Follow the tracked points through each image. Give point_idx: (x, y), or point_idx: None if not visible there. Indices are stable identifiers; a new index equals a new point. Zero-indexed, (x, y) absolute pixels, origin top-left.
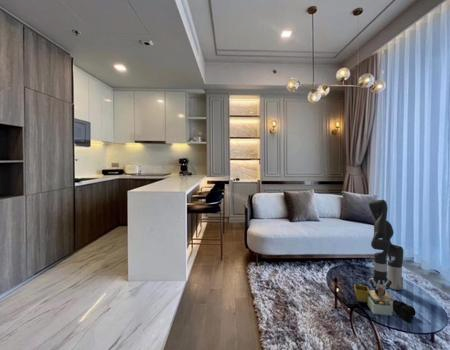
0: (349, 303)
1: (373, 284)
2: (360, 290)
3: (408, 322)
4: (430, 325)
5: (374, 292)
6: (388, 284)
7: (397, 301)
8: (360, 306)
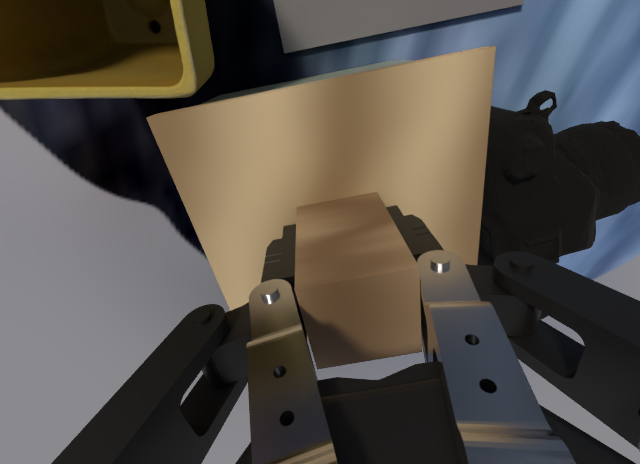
0: (47, 143)
1: (203, 454)
2: (39, 97)
3: None
4: (611, 244)
5: (268, 185)
6: (609, 419)
7: (521, 240)
8: (157, 163)
